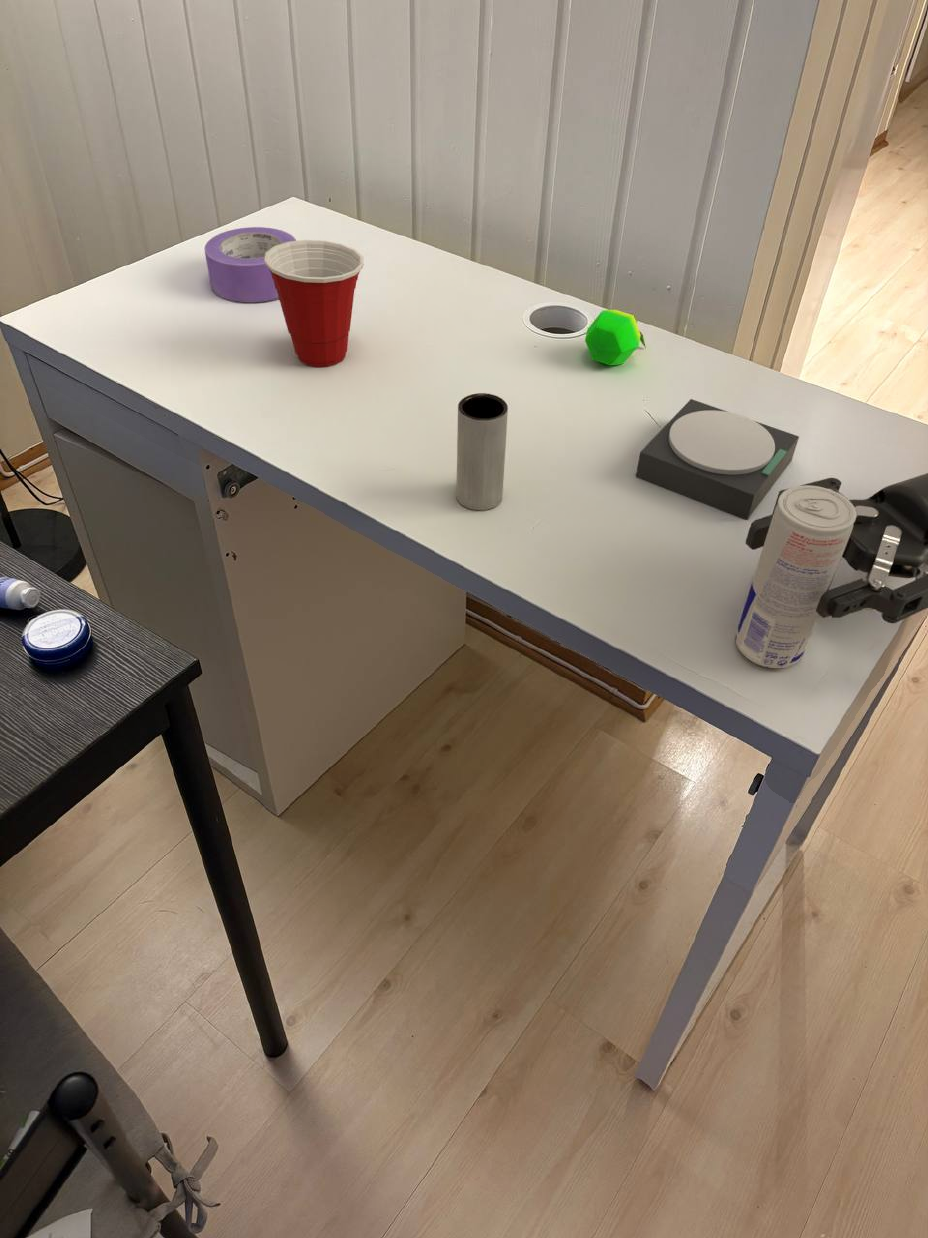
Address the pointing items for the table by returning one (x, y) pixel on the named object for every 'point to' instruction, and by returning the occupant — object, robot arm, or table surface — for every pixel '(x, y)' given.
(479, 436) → the grey cylindrical tube
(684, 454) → the scale
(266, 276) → the tape roll
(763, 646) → the beverage can
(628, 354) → the apple
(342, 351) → the plastic cup
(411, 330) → the table surface
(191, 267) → the table surface
